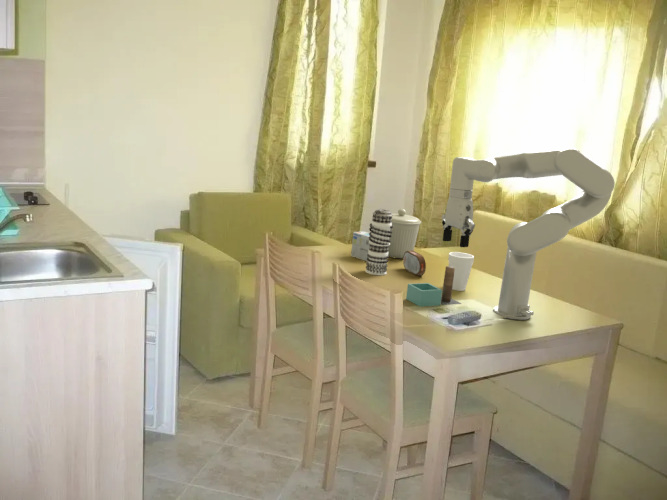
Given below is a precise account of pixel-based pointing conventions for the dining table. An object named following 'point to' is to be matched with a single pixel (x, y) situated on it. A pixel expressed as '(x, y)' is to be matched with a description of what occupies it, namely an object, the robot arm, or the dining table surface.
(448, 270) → the dowel
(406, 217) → the canister
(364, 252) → the light bulb box
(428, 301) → the teal open box
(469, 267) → the foam cup
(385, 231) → the decorative candle
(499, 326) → the dining table surface
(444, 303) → the coaster
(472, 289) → the dining table surface
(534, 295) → the dining table surface
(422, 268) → the tin
